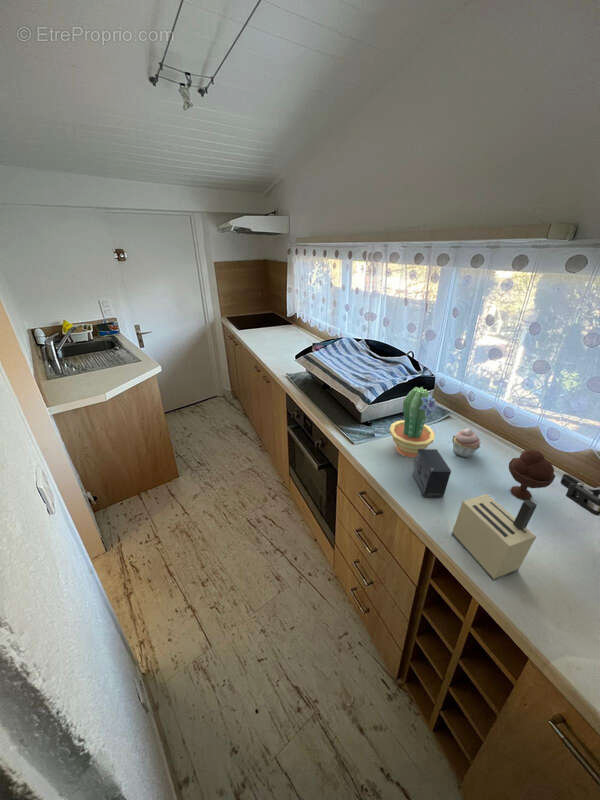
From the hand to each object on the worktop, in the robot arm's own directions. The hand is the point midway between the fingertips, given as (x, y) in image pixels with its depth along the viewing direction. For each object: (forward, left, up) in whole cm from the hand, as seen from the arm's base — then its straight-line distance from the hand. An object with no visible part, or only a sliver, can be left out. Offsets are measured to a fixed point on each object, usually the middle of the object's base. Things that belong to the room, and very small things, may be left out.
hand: (586, 481), depth 58 cm
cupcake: (+6, -44, -28) cm, 52 cm away
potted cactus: (+25, -42, -28) cm, 56 cm away
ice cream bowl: (-6, -26, -28) cm, 38 cm away
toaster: (+11, -3, -27) cm, 30 cm away
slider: (+7, -1, -15) cm, 17 cm away
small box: (+21, -24, -28) cm, 42 cm away
